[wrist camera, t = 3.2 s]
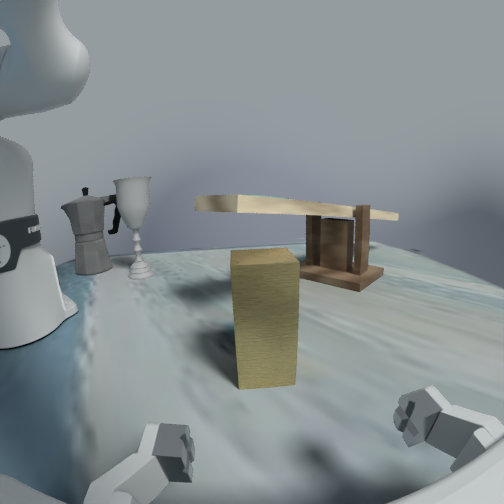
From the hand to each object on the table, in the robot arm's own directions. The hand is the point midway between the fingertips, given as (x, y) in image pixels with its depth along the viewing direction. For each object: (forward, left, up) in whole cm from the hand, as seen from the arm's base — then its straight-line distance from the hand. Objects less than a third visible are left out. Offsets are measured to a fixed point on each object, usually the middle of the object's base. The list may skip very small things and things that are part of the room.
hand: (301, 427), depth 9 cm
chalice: (-46, +12, -7) cm, 48 cm away
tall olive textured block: (-10, +8, -6) cm, 14 cm away
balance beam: (-19, +35, +4) cm, 40 cm away
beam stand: (-19, +35, -6) cm, 40 cm away
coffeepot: (-58, +6, -7) cm, 58 cm away
